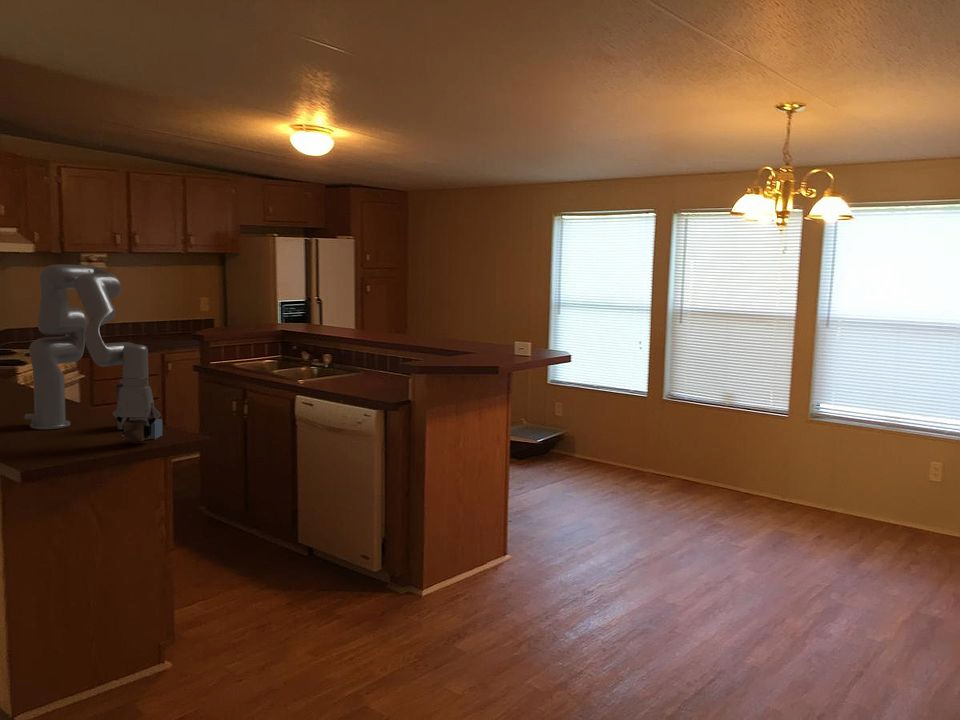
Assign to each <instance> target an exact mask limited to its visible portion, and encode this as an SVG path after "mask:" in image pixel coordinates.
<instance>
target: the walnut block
mask: <svg viewBox="0 0 960 720" xmlns="http://www.w3.org/2000/svg"><path fill="white" fill-rule="evenodd" d="M144 426H145V422H144V420H143V419H130V420H128V421H125V422H123V427H124V434H123V436H124V439H123V441H126V442H127V441H129V442H130V441H132V442H133V441H134V442H139V441H140V442H143V441H145V440H148V439H147V438H144ZM148 438H149V437H148Z"/></svg>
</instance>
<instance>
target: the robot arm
mask: <svg viewBox="0 0 960 720" xmlns="http://www.w3.org/2000/svg"><path fill="white" fill-rule="evenodd" d="M39 275H40V276H39V285H40V302H39V311H38V317H37V319H38V320H37V328H38V331H39V332H40V333H41V334H43V335H47V336H48V337H41V338H37V339H35V340H34V341H32V342H31V343H30V345H29V348H28V354H29V359H30V361H31V367H32V377H33V401H34V402H33V406H34V413H25V415H24V420H25V421H31V423H30V424H29V428H31V429H33V430H34V429H35V430H56V429H57V430H58V429H63V428H67V427H70V426H71V421H70V420H68V419H66V392H65V391H66V388H65V387H66V386H65V375H64V373H63V371H62V370H61V369H60V367H59V365H60V364H68V363H69V364H70V363H75V362H78V361H80V360H81V359H82V358H83V355H84V353H85V352H84V351H85V348H87V351H88V353H89V355H90V358H91V359H92V361H93V362H94V363H95V364H96V365H97V366H98V367H101V368H104V367H105V368H106V367H115V366H116V367H117V366H122V378H119V381H118V382H119V383H120V384H123V387H121V388H120V393H119V402H118V408H117V407H116V409H115V410H114V411H113V412H112V416H114V418H115V419H116V420H118V421H119V422H120V423H121V425H123V422H125V421H128V420H129V419H130V418H143V420H144V422H145V426H144V438H148V437H150V435H151V425H152V424H153V423H154V422H155V421H156V419H160V417H161V416H162V414H161V413H160V411H159V410H158V409H157V408H156V406H154V405H155V403H154V397H153V396H154V395H153V391H152V387H151V385H149V349H148V346H146V345H144V344H138V343H137V344H136V343H134V342H129V341H124V342H123V341H122V342H121V341H119V342H106V343H105V342H104V340H103V339H102V336H101V330H100V328H101V326H103V325H105V324H107V323H109V322H111V321H112V320H113V319H114V318H115V317H116V315H117V310H116V309H115V306H114V304H113V302H112V300H111V299H115V298H117V297H119V296H120V294H121V292H122V284H121V282H120V280H119V278H118V277H117V276H116V275H114V273H111V272H108V271H107V270H104V269H103V268H100V267H98V266H94V265H90V264H63V263H62V264H60V263H57V264H50V265H48V266H45V267H44V268H43V269H42V270H41V272H40V274H39ZM67 290H75V291H76V293H77V295H78V298H79V300H80V302H81V304H82V306H83V309H84V311H83V310H82V309H81V308H80V307H75V306H74V307H72V306H71V307H69V300H70V297H69V293H68V292H67ZM88 319H89V321H88ZM59 335H64V336H59ZM151 416H153V417H151ZM118 421H117V422H118ZM122 435H124V427H123V430H122Z"/></svg>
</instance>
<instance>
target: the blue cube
mask: <svg viewBox="0 0 960 720" xmlns="http://www.w3.org/2000/svg"><path fill="white" fill-rule="evenodd" d="M160 436H161V437H162V436H163V418H158V419H156V421H155V422H154V423H153V424H152V425H151V435H150V437H149V438H147V439H146V440H150V439H155V440H157V439H159V438H160ZM158 437H159V438H158ZM156 438H157V439H156Z"/></svg>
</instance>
